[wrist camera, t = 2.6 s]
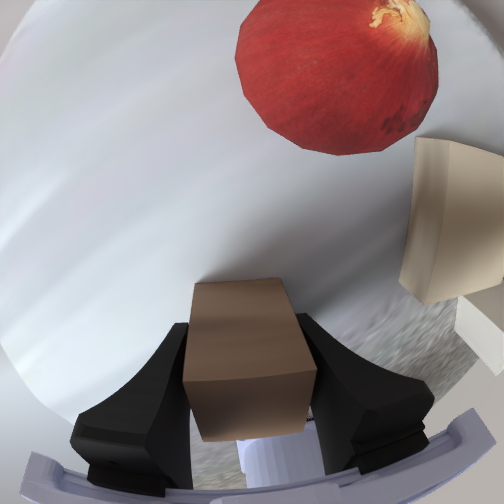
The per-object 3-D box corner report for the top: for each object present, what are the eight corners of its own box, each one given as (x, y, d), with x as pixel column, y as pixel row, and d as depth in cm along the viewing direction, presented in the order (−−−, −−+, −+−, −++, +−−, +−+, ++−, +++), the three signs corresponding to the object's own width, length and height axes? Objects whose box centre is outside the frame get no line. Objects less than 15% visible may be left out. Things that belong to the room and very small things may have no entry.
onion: (368, 48, 9) (499, 0, 2) (354, 161, 11) (503, 207, 4) (241, 16, 8) (274, -115, 1) (222, 139, 10) (224, 131, 3)
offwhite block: (484, 307, 17) (526, 346, 11) (454, 330, 17) (496, 376, 11) (490, 269, 15) (540, 307, 10) (458, 292, 15) (510, 339, 10)
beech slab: (474, 265, 15) (500, 283, 12) (395, 278, 14) (423, 305, 12) (491, 156, 12) (523, 164, 9) (410, 136, 11) (449, 140, 9)
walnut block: (277, 341, 15) (303, 431, 9) (204, 346, 14) (203, 441, 9) (279, 277, 13) (317, 369, 8) (195, 283, 13) (182, 381, 7)
